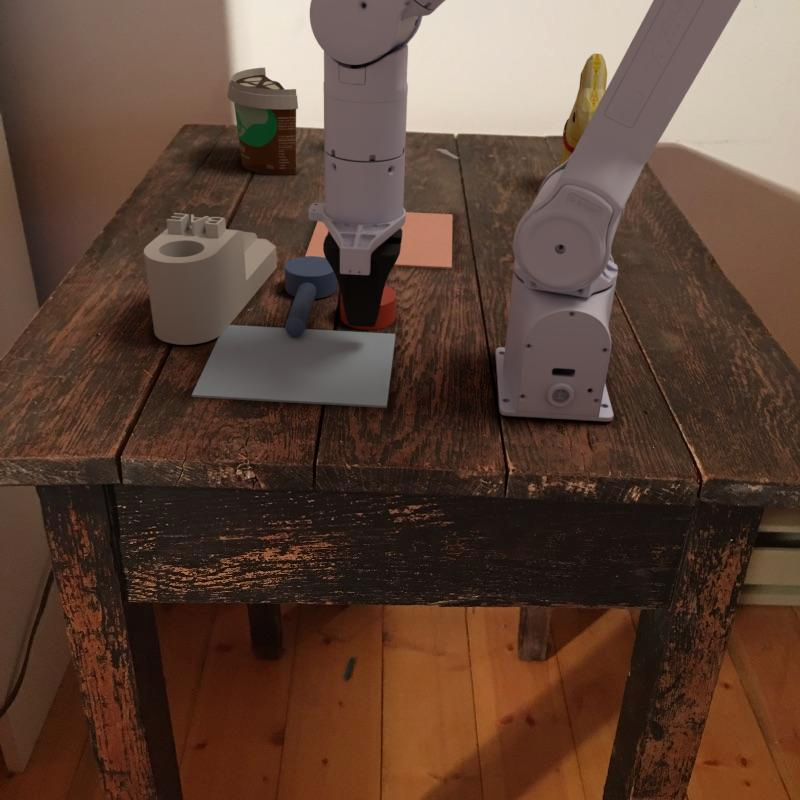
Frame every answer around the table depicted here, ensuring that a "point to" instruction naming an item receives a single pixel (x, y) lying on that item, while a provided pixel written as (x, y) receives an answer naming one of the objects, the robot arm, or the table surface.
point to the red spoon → (385, 312)
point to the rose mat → (410, 241)
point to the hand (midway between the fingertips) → (362, 322)
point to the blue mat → (299, 367)
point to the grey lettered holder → (203, 277)
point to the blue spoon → (306, 288)
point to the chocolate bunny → (584, 103)
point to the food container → (264, 122)
